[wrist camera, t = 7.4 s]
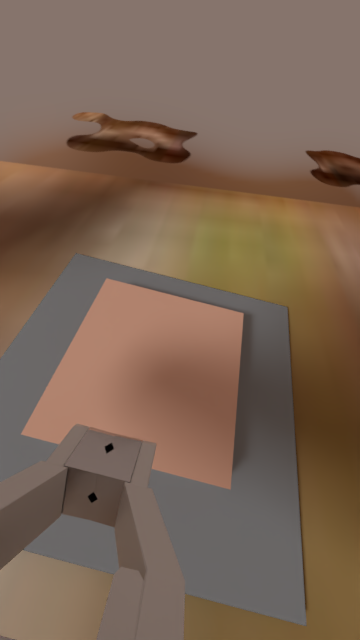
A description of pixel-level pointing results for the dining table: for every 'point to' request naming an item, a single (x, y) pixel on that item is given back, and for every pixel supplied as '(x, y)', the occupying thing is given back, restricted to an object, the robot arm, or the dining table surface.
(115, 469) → the robot arm
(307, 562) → the dining table surface
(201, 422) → the tile
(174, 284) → the mat
